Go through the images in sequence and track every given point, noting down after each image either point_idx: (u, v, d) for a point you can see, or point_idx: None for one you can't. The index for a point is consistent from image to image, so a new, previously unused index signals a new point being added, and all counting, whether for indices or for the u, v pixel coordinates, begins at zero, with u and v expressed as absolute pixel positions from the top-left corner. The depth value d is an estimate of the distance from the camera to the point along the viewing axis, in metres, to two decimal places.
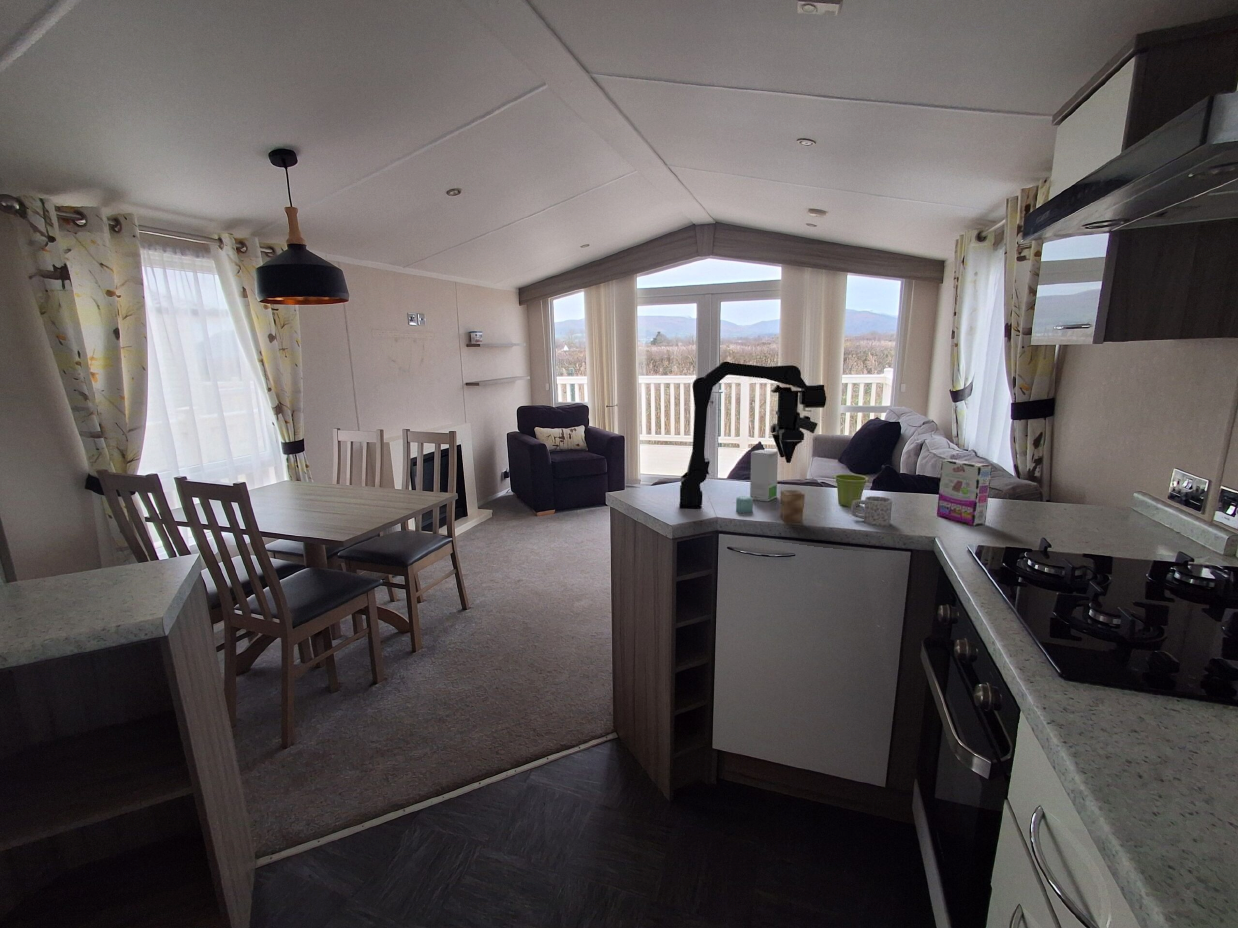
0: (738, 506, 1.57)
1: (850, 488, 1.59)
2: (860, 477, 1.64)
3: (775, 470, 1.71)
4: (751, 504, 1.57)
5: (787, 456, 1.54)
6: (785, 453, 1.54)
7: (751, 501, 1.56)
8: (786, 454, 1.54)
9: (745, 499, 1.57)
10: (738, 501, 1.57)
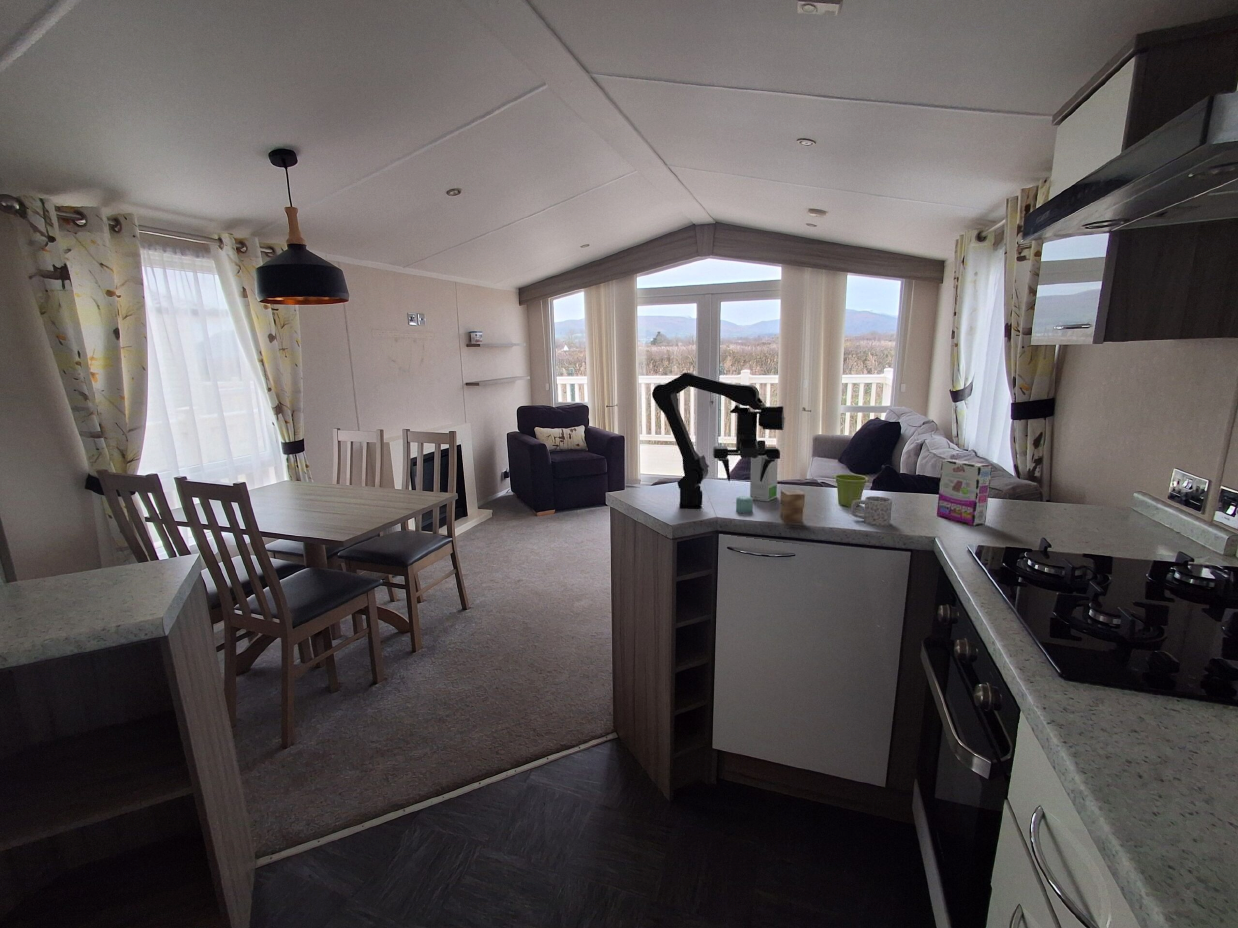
0: (738, 506, 1.57)
1: (850, 488, 1.59)
2: (860, 477, 1.64)
3: (775, 470, 1.71)
4: (751, 504, 1.57)
5: (726, 473, 1.58)
6: (725, 470, 1.58)
7: (751, 501, 1.56)
8: None
9: (745, 499, 1.57)
10: (738, 501, 1.57)
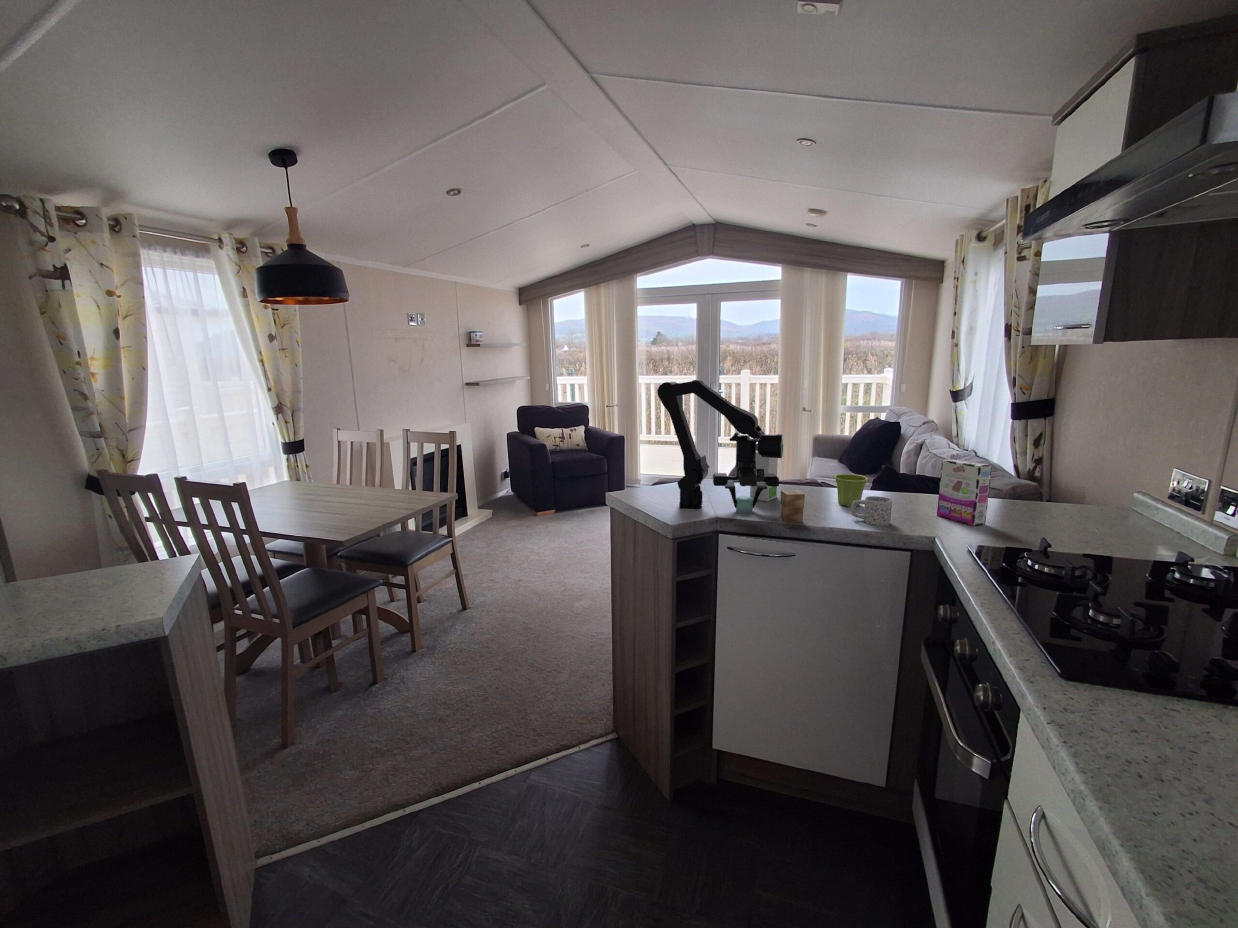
0: (738, 506, 1.57)
1: (850, 488, 1.59)
2: (860, 477, 1.64)
3: (775, 470, 1.71)
4: (751, 504, 1.57)
5: None
6: None
7: (751, 501, 1.56)
8: (732, 498, 1.59)
9: (745, 499, 1.57)
10: (738, 501, 1.57)
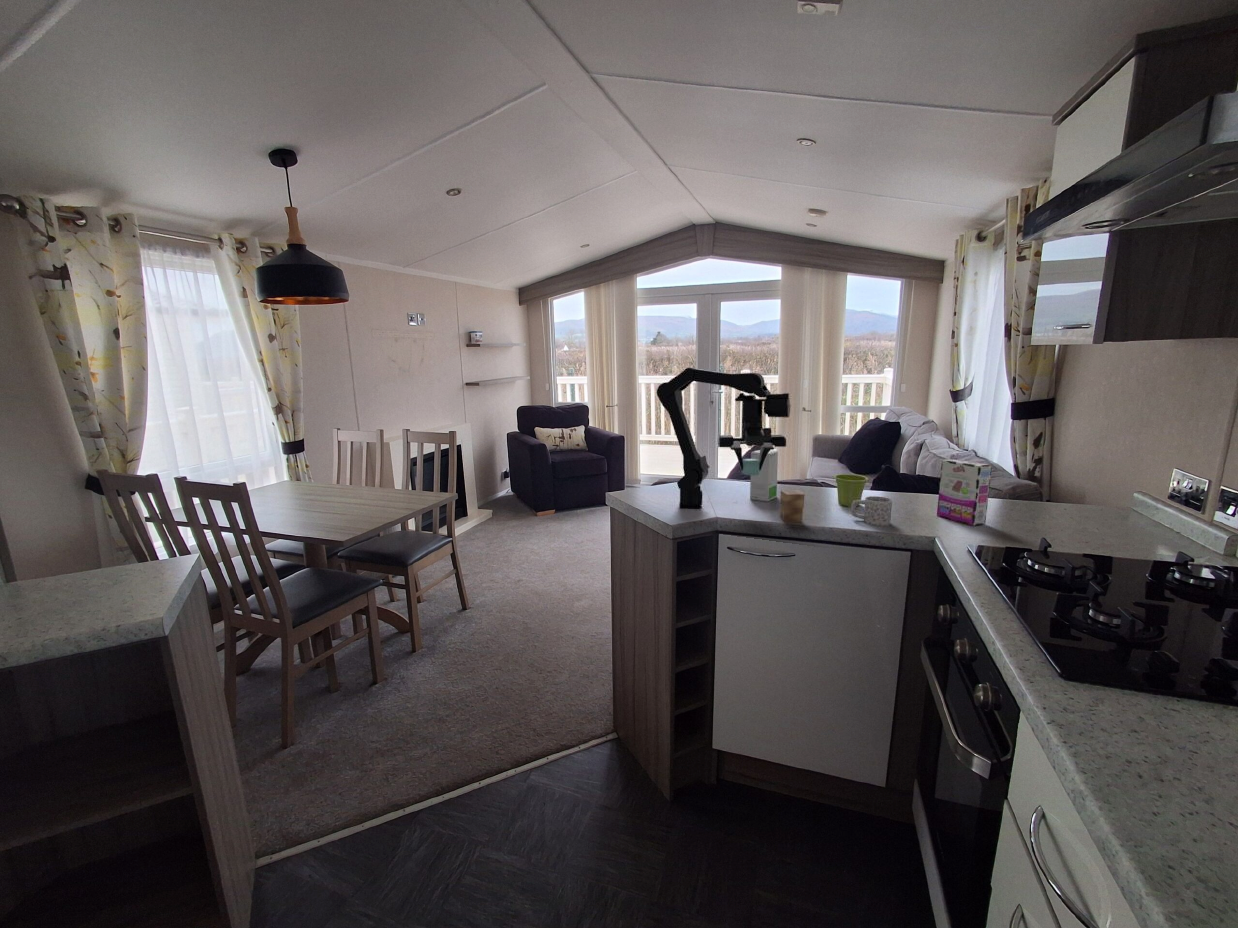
0: (744, 468, 1.54)
1: (850, 488, 1.59)
2: (860, 477, 1.64)
3: (775, 470, 1.71)
4: (757, 466, 1.53)
5: (739, 463, 1.56)
6: None
7: (757, 462, 1.53)
8: (738, 460, 1.56)
9: (751, 461, 1.53)
10: (744, 463, 1.54)
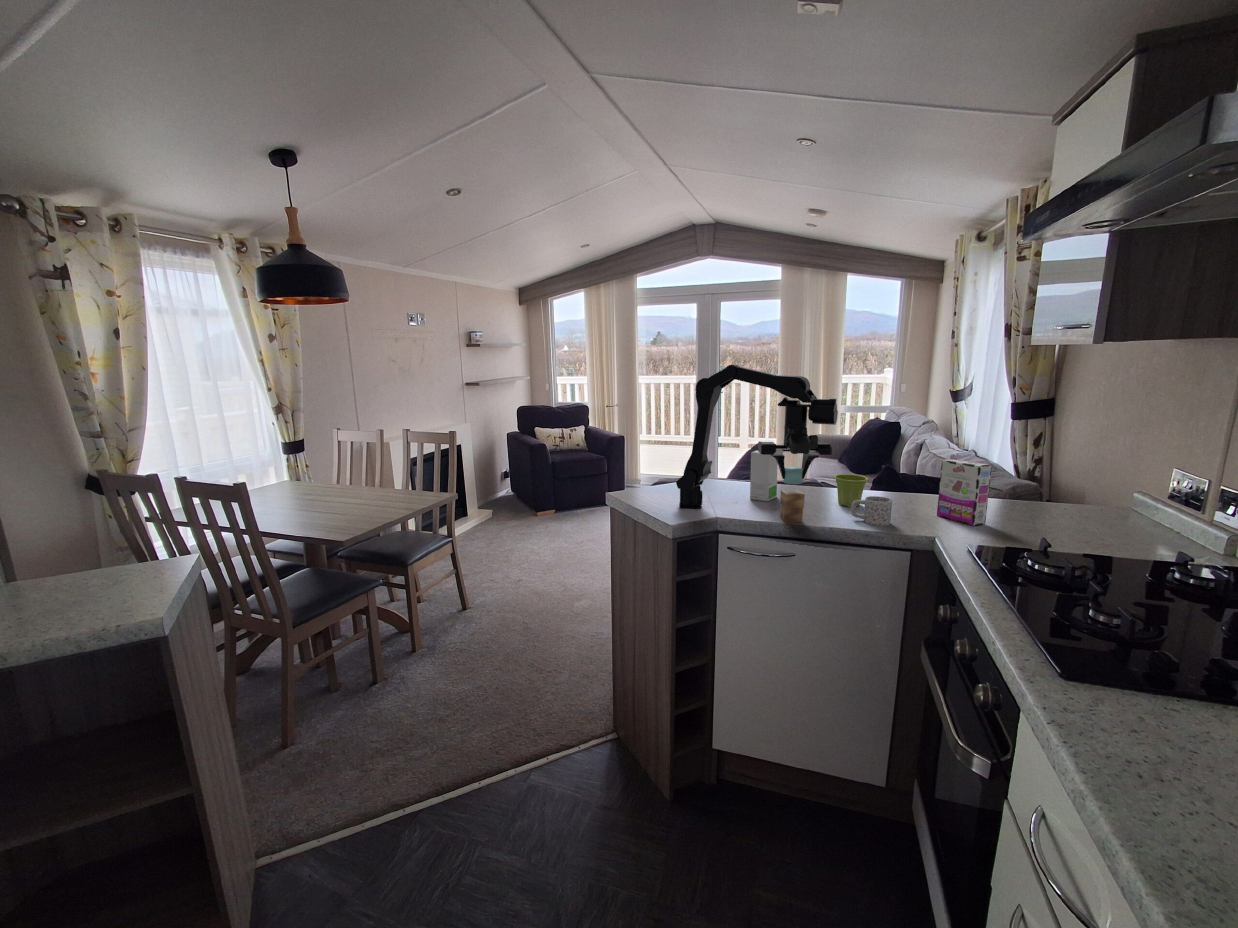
0: (786, 476, 1.46)
1: (850, 488, 1.59)
2: (860, 477, 1.64)
3: (775, 470, 1.71)
4: (801, 474, 1.46)
5: (780, 471, 1.48)
6: (779, 467, 1.48)
7: (801, 471, 1.45)
8: (779, 468, 1.48)
9: (794, 469, 1.46)
10: (787, 471, 1.46)
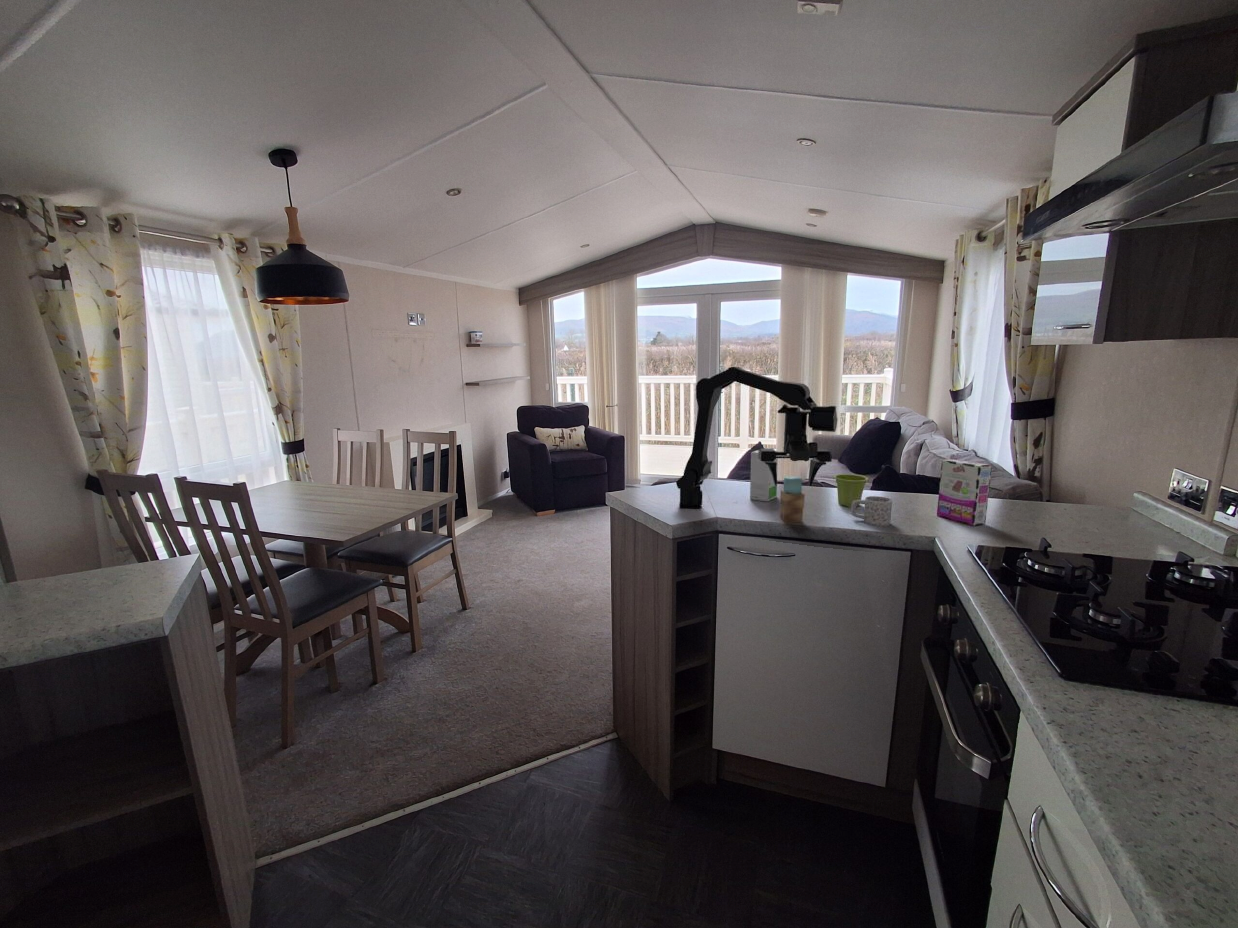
0: (786, 486, 1.47)
1: (850, 488, 1.59)
2: (860, 477, 1.64)
3: None
4: (800, 484, 1.46)
5: (772, 477, 1.48)
6: None
7: (800, 481, 1.46)
8: (772, 475, 1.49)
9: (794, 479, 1.46)
10: (786, 481, 1.46)
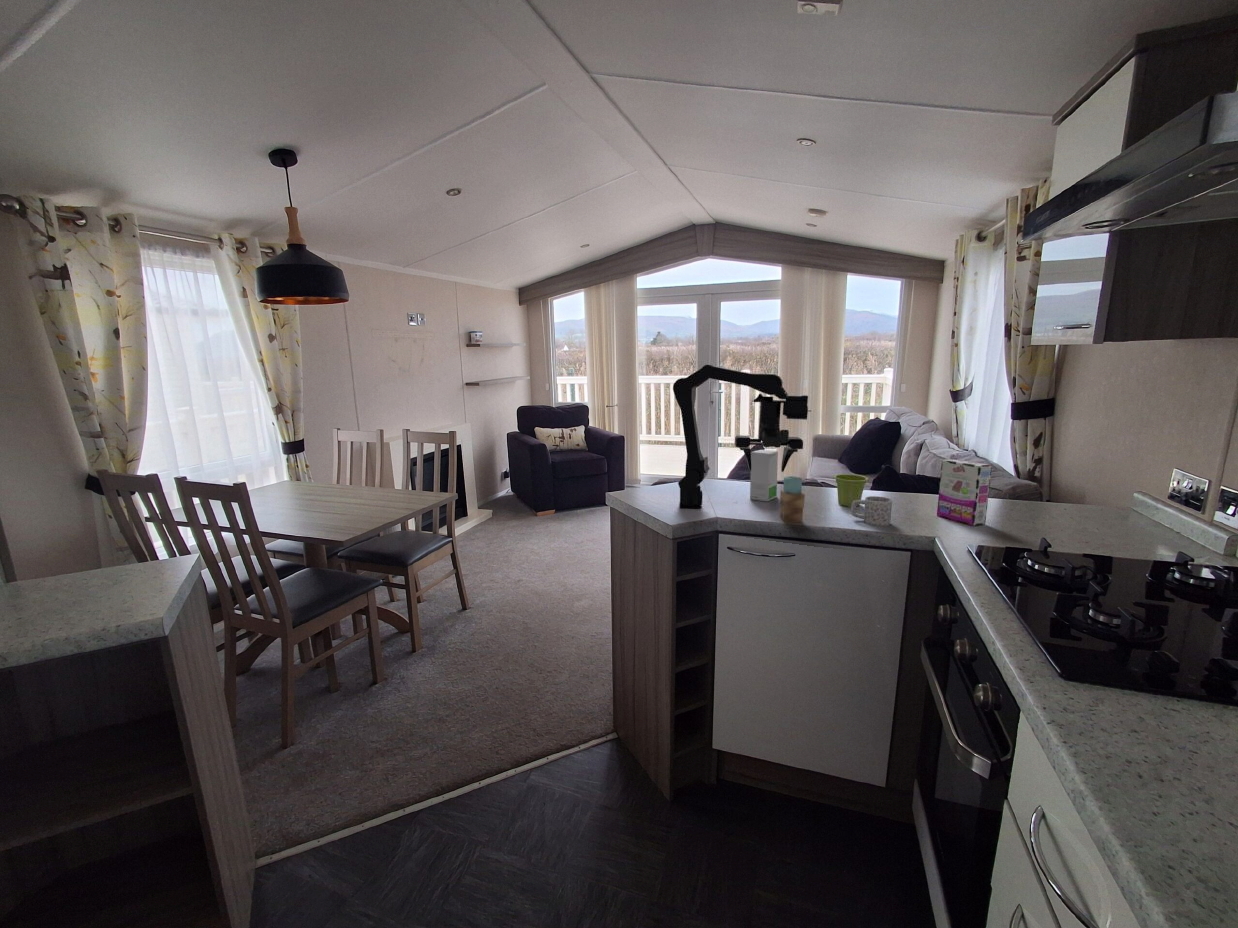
0: (786, 486, 1.47)
1: (850, 488, 1.59)
2: (860, 477, 1.64)
3: (775, 470, 1.71)
4: (800, 484, 1.46)
5: None
6: None
7: (800, 481, 1.46)
8: (747, 461, 1.56)
9: (794, 479, 1.46)
10: (786, 481, 1.46)
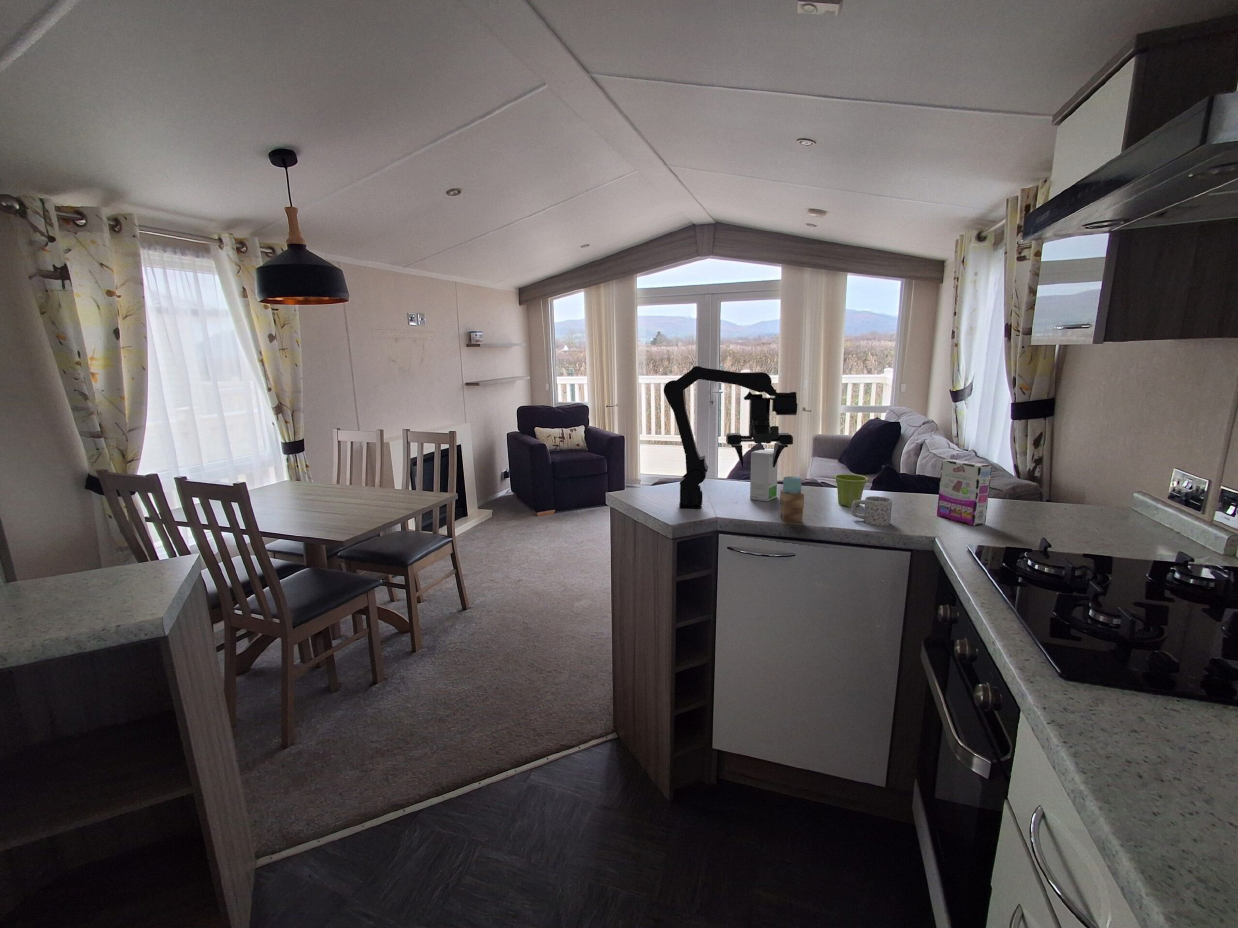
0: (786, 486, 1.47)
1: (850, 488, 1.59)
2: (860, 477, 1.64)
3: (775, 470, 1.71)
4: (800, 484, 1.46)
5: None
6: (738, 456, 1.60)
7: (800, 481, 1.46)
8: None
9: (793, 479, 1.46)
10: (786, 481, 1.46)
